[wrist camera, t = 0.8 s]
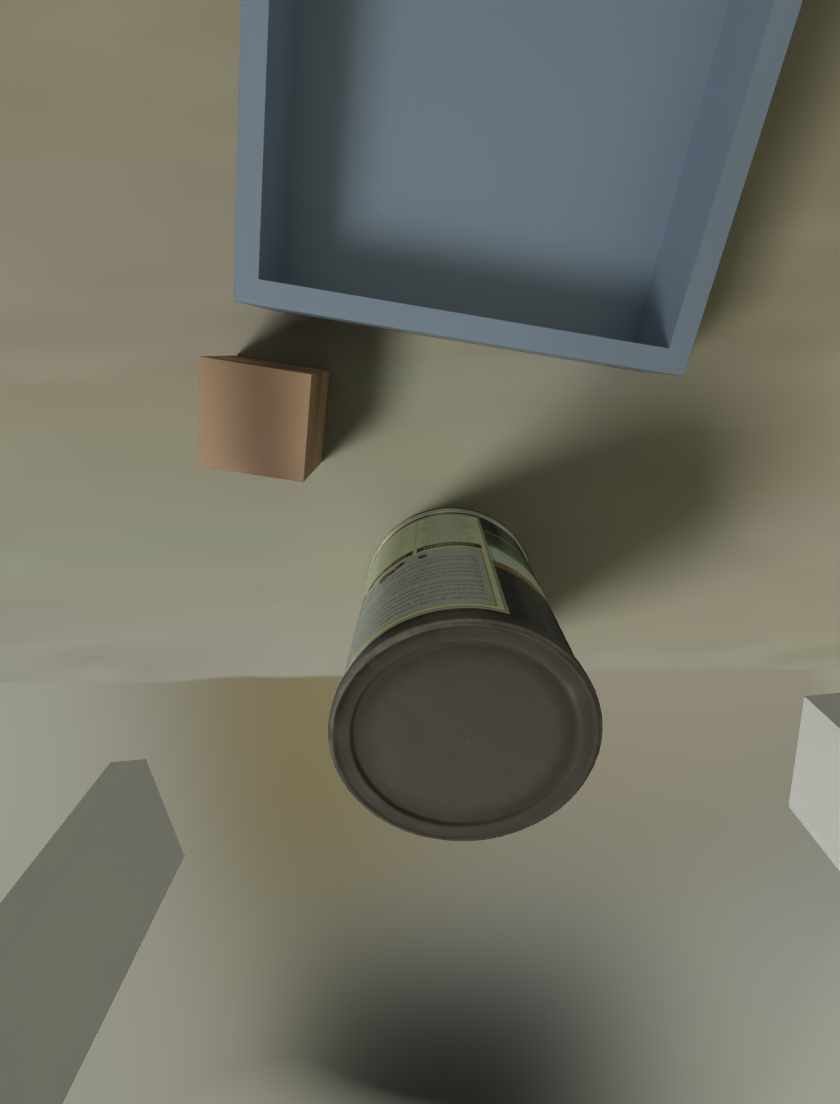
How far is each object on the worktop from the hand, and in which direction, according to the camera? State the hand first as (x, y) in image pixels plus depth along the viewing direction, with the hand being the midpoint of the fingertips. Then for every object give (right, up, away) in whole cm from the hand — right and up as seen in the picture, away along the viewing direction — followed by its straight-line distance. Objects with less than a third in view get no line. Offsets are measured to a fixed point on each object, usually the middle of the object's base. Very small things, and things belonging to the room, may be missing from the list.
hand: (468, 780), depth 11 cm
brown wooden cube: (-9, +13, +18) cm, 24 cm away
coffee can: (+1, +3, +22) cm, 22 cm away
